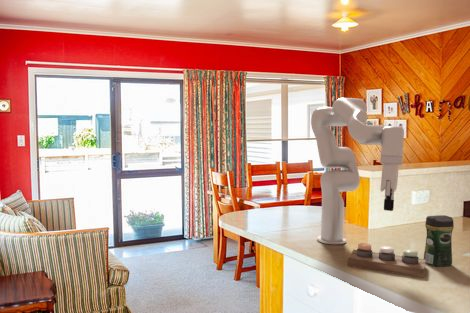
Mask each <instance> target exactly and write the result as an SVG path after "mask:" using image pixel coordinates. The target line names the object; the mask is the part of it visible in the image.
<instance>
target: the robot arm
mask: <svg viewBox="0 0 470 313" xmlns="http://www.w3.org/2000/svg"><path fill="white" fill-rule="evenodd" d="M367 110H368V108H367V104H366V102H365V101H364V100H363V99H361V98H354V97H340V98H338V99H336V100H335V101H334V102H333V103H332V106H323V107H321V106H320V107H318V108H315V109H314V111H312V114H311V118H310V124H311V125H310V126H311V129H312V132H313V134H314V137H315V140H316V145H317V152H318V156H319V157H318V158H319V162H320V164H321V166H322V167H323V168H324V169H325V168H326V169H332V170H326V171H324V172H323V173H322V174H321V175H320V180H319V182H320V187H321V197H322V198H321V220H320V222H321V224H320V235H318V236H317V237H316V238H317V239H316V240H317V241H318V242H320V243H322V244H326V245H334V246H335V245H344V244H345V243H346V242H347V238H346V237H344V218H345V217H344V214H345V212H344V211H345V202H344V201H345V200H344V199H343V196H342V195H341V192H353V191H356V190H357V189H359V187H360V183H361V182H360V174H359V169H358V164H357V158H356V155H355V152H354V151H353V150H352V149H351V148H350V147H347V146H338V144H337V139H336V135H335V134H334V132H332V130H331V129H330V128H329V127H347V131H348V134H349V136H350V137H351V138H352V139H353V140H354V141H356V142H357V143H358V144H360V145H364V146H380V160H379V161H380V164H381V165H382V169H381V170H382V171H381V180H380V181H381V182H380V192H383V191H384V199H383V200H384V201H383V210H384V211H386V212H387V211H390V212H393V211H394V206H395V205H394V204H395V203H394V202H395V198H394V197H395V192H396V191H397V187H398V181H399V180H398V178H399V166H402V165H403V158H404V157H403V156H404V140H405V129H404V128H403V127H402V126H395V125H391V126H390V125H386V124H385V125H384V124H383V125H382V124H366V122H367V120H368V114H367Z"/></svg>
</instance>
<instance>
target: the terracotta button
mask: <svg viewBox="0 0 470 313" xmlns="http://www.w3.org/2000/svg"><path fill="white" fill-rule="evenodd" d="M358 248H359V249H361V250H372V245H371V244H368V243H358V245H357V249H358Z"/></svg>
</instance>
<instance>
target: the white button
mask: <svg viewBox="0 0 470 313" xmlns="http://www.w3.org/2000/svg"><path fill="white" fill-rule="evenodd" d="M379 248H380V249H379V250H380V251H381V252H383V253H394V254H395V248H394V247H392V246H387V245H386V246H385V245H383V246H380V247H379ZM380 251H379V252H380Z"/></svg>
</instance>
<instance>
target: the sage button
mask: <svg viewBox="0 0 470 313" xmlns="http://www.w3.org/2000/svg"><path fill="white" fill-rule="evenodd" d="M402 255H406V256H412V257H415V256H418V255H419V253H418V251H417V250H415V249H409V248H408V249H403V252H402ZM418 257H419V256H418Z"/></svg>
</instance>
